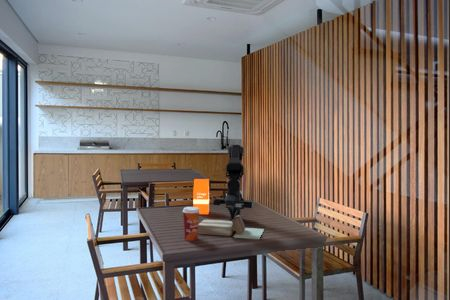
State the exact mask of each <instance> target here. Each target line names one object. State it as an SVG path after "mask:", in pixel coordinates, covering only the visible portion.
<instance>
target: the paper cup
mask: <svg viewBox="0 0 450 300" xmlns="http://www.w3.org/2000/svg"><path fill="white" fill-rule="evenodd" d="M182 209H183V210H182V213H183V215H182V216H183V230H184V240H185V241H187V242H188V241H189V242H195V241H197V240H198V224H199V218H200V214H199V212H200V211H199V209H198V208H197V207H193V206H185V207H184V208H182Z"/></svg>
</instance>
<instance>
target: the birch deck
mask: <svg viewBox="0 0 450 300" xmlns="http://www.w3.org/2000/svg"><path fill="white" fill-rule="evenodd" d="M234 231H235V228H234V226H233V223H232V220H223V219H209V218H208V219H207V218H204V219H203V220H202V221H201V222H198V234H200V235H211V236H212V235H213V236H225V237H230V236H232V235H233V233H234Z"/></svg>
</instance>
